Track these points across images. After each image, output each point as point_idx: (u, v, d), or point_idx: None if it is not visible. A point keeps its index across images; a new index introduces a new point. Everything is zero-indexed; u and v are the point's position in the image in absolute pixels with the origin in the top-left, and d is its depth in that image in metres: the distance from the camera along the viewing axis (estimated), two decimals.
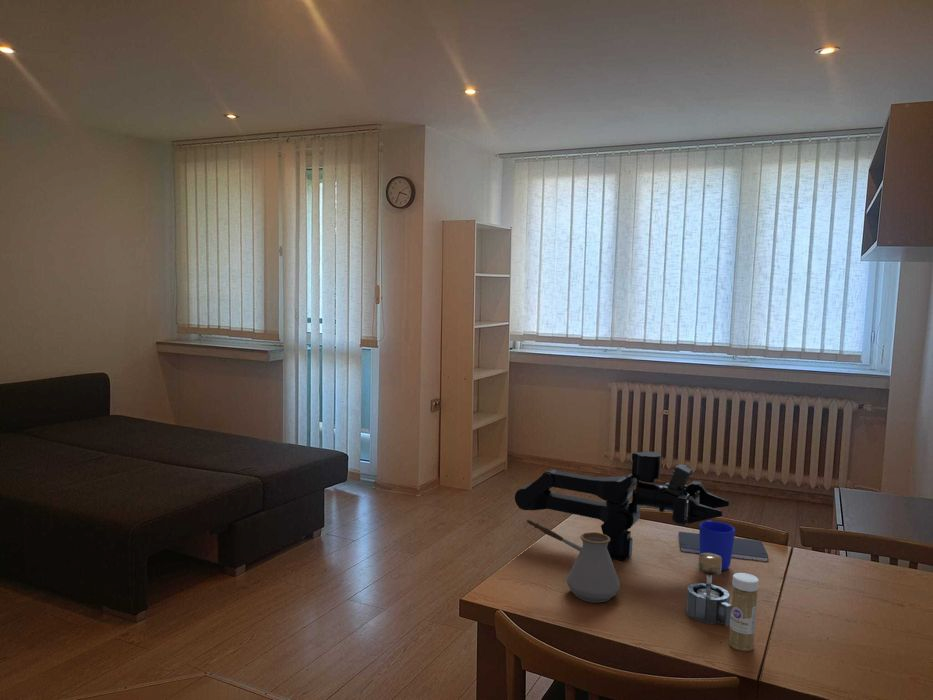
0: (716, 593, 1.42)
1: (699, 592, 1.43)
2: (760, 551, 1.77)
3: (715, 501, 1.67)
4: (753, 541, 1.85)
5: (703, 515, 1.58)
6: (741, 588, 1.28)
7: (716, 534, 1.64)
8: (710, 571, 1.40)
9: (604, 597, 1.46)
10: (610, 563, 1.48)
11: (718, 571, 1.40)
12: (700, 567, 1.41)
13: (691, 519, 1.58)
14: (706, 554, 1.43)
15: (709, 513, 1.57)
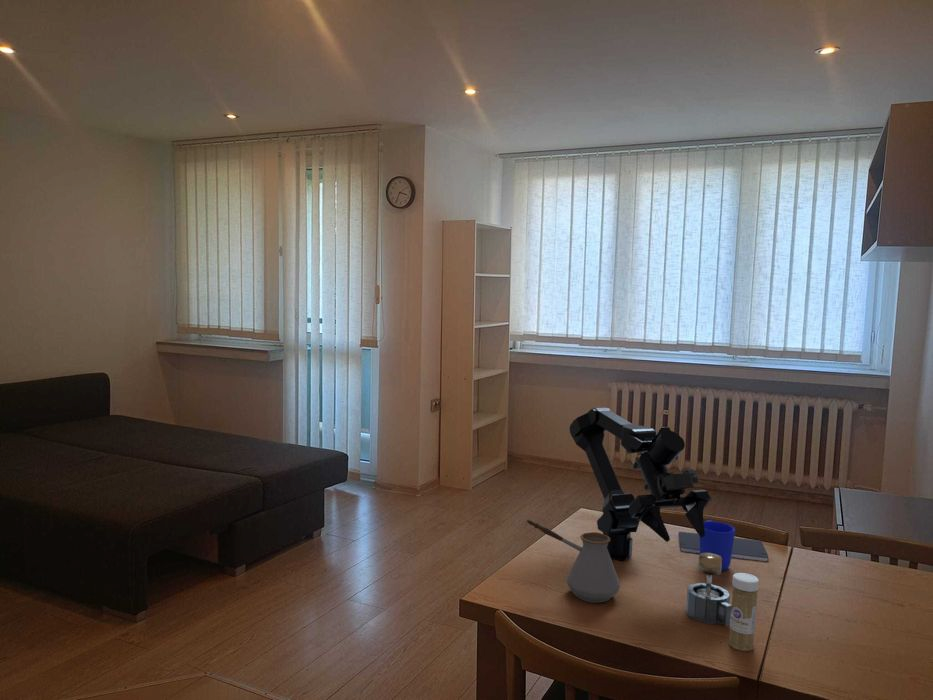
0: (716, 593, 1.42)
1: (699, 592, 1.43)
2: (760, 551, 1.77)
3: (697, 523, 1.53)
4: (753, 541, 1.85)
5: (654, 526, 1.50)
6: (741, 588, 1.28)
7: (716, 534, 1.64)
8: (710, 571, 1.40)
9: (604, 597, 1.46)
10: (610, 563, 1.48)
11: (718, 571, 1.40)
12: (700, 567, 1.41)
13: (644, 519, 1.52)
14: (706, 554, 1.43)
15: (659, 530, 1.49)
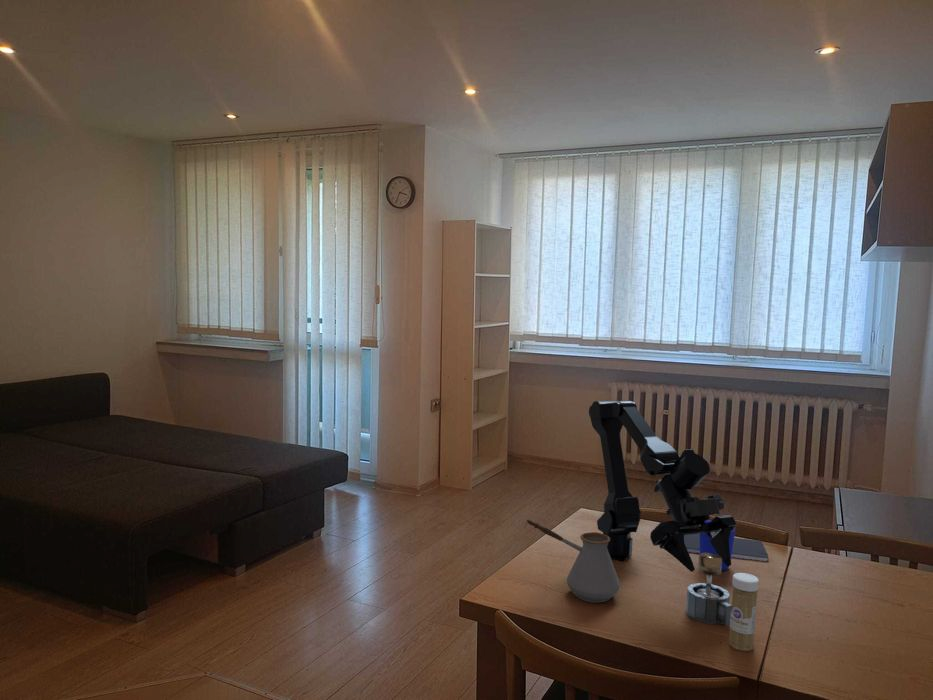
0: (716, 593, 1.42)
1: (699, 592, 1.43)
2: (760, 551, 1.77)
3: (723, 551, 1.45)
4: (753, 541, 1.85)
5: (678, 555, 1.42)
6: (741, 588, 1.28)
7: None
8: (710, 571, 1.40)
9: (604, 597, 1.46)
10: (610, 563, 1.48)
11: (718, 571, 1.40)
12: (700, 567, 1.41)
13: (667, 547, 1.44)
14: (706, 554, 1.43)
15: (683, 559, 1.41)
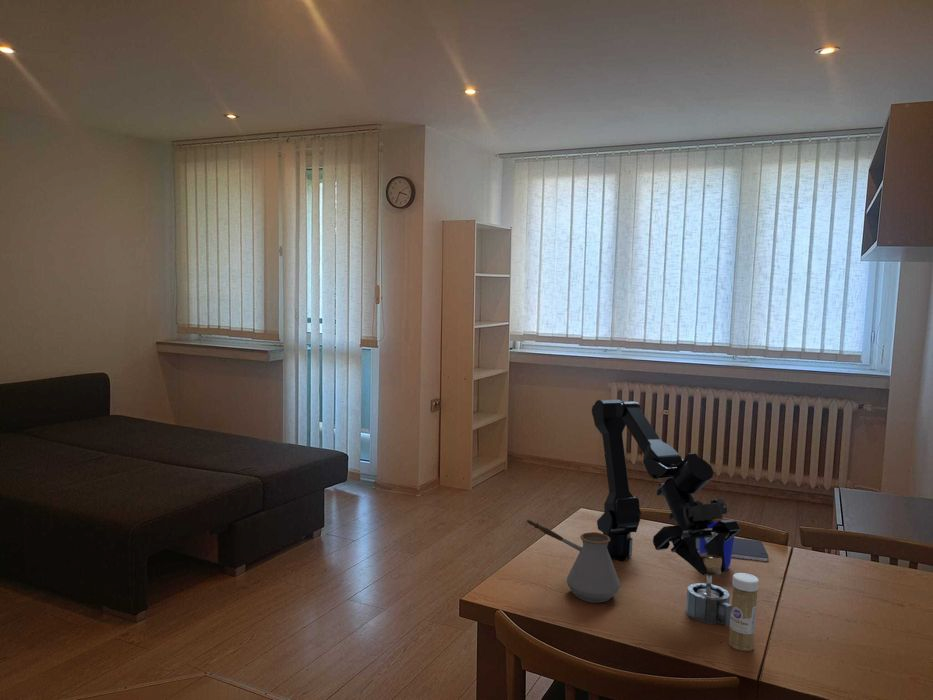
0: (716, 593, 1.42)
1: (699, 592, 1.43)
2: (760, 551, 1.77)
3: None
4: (753, 541, 1.85)
5: (689, 559, 1.42)
6: (741, 588, 1.28)
7: None
8: (710, 571, 1.40)
9: (604, 597, 1.46)
10: (610, 563, 1.48)
11: (718, 571, 1.40)
12: None
13: (678, 550, 1.44)
14: (706, 554, 1.43)
15: (694, 563, 1.41)
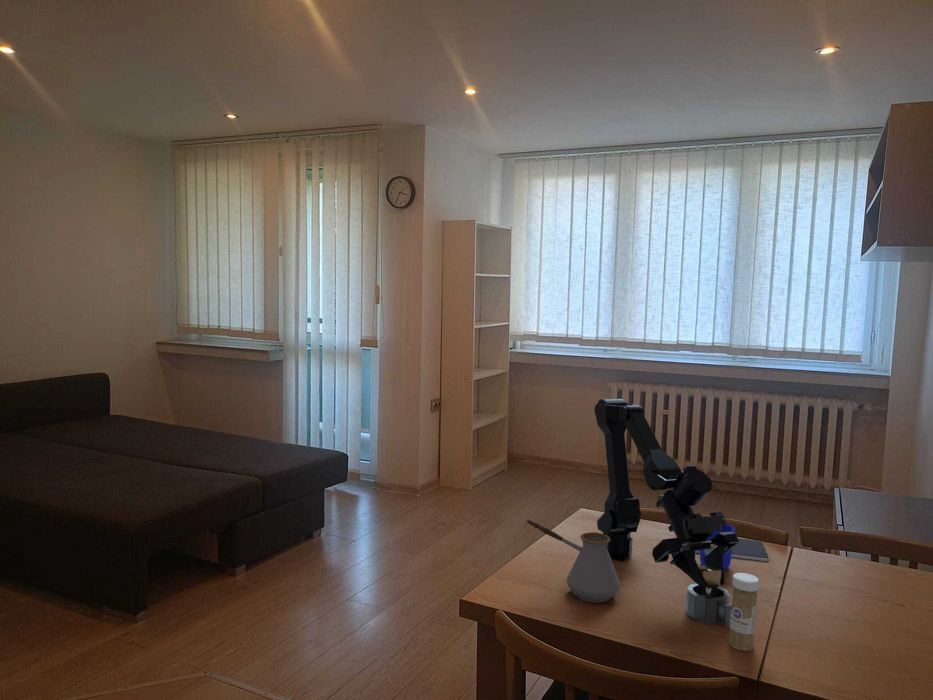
0: None
1: None
2: (760, 551, 1.77)
3: None
4: (753, 541, 1.85)
5: (688, 571, 1.43)
6: (741, 588, 1.28)
7: (716, 534, 1.64)
8: (709, 584, 1.40)
9: (604, 597, 1.46)
10: (610, 563, 1.48)
11: (717, 584, 1.40)
12: None
13: (677, 563, 1.45)
14: (705, 567, 1.43)
15: (694, 575, 1.42)
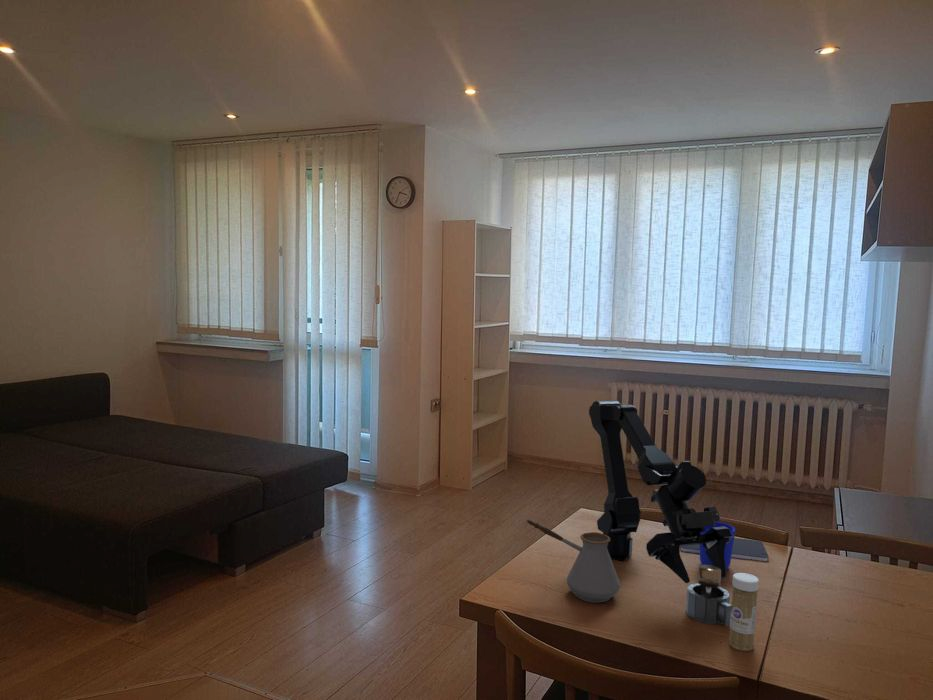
0: None
1: None
2: (760, 551, 1.77)
3: (718, 562, 1.47)
4: (753, 541, 1.85)
5: (673, 566, 1.44)
6: (741, 588, 1.28)
7: None
8: (709, 583, 1.40)
9: (604, 597, 1.46)
10: (610, 563, 1.48)
11: (717, 583, 1.40)
12: (699, 579, 1.42)
13: (662, 558, 1.46)
14: (705, 566, 1.43)
15: (678, 571, 1.43)
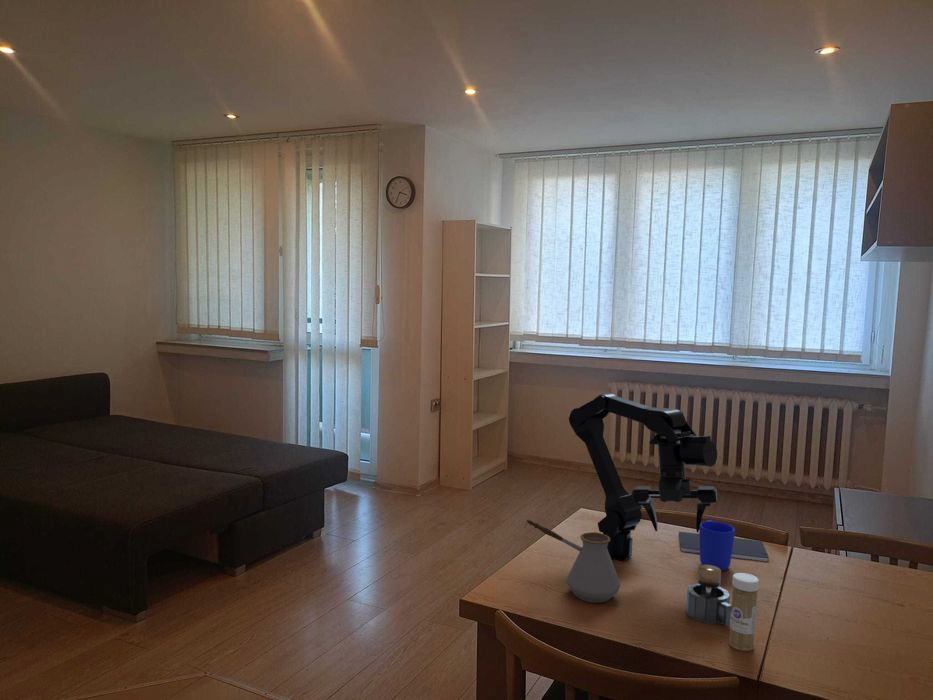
0: None
1: None
2: (760, 551, 1.77)
3: None
4: (753, 541, 1.85)
5: None
6: (741, 588, 1.28)
7: (716, 534, 1.64)
8: (709, 583, 1.40)
9: (604, 597, 1.46)
10: (610, 563, 1.48)
11: (717, 583, 1.40)
12: (699, 579, 1.42)
13: None
14: (705, 566, 1.43)
15: None
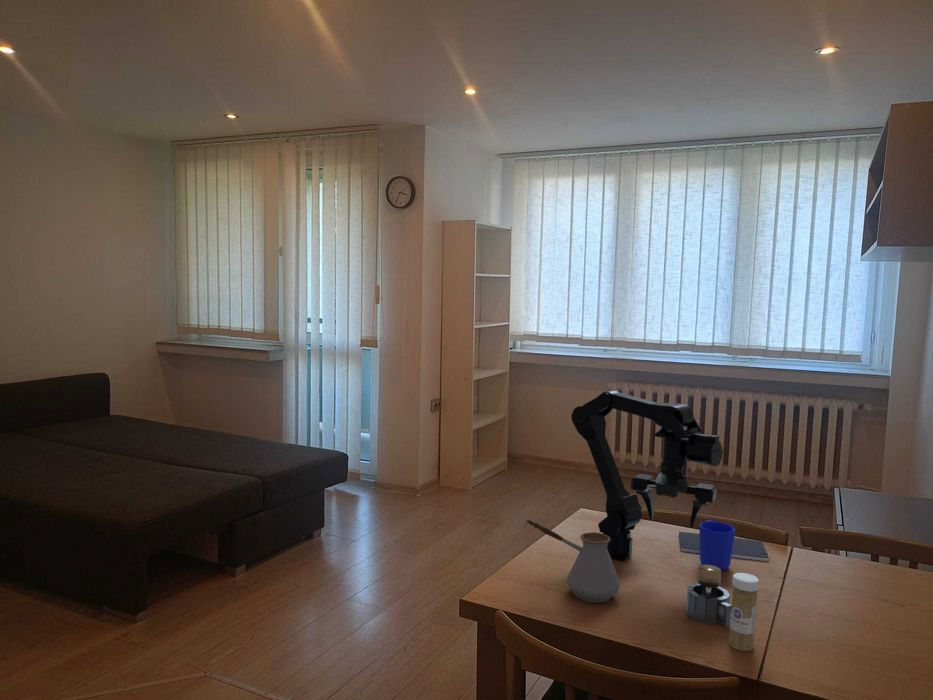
0: None
1: None
2: (760, 551, 1.77)
3: None
4: (753, 541, 1.84)
5: None
6: (741, 588, 1.28)
7: (716, 534, 1.64)
8: (709, 583, 1.40)
9: (604, 597, 1.46)
10: (610, 563, 1.48)
11: (717, 583, 1.40)
12: (699, 579, 1.42)
13: None
14: (705, 566, 1.43)
15: None
